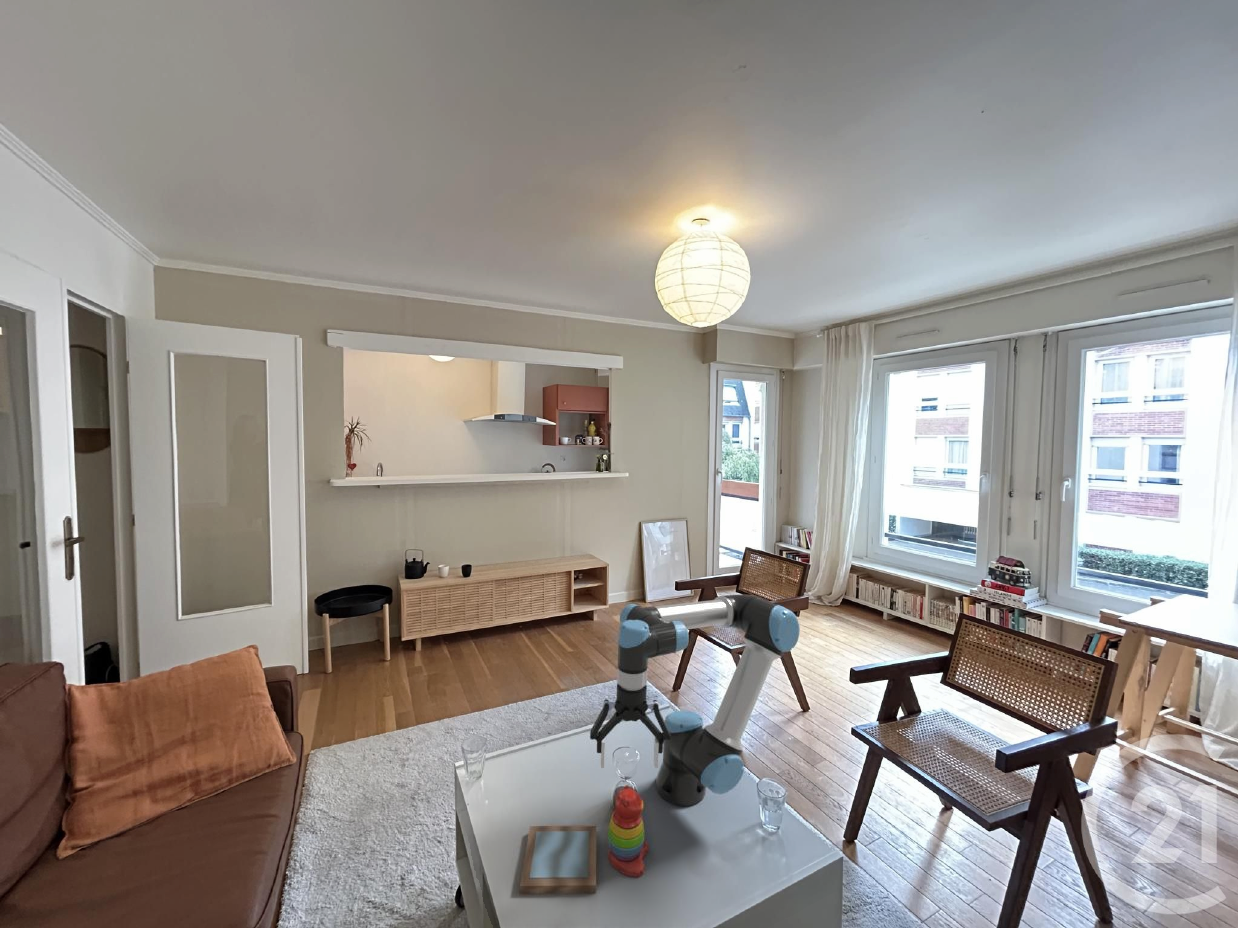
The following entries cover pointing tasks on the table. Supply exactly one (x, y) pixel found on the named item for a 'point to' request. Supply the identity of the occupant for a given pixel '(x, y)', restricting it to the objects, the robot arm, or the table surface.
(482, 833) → the table surface
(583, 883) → the base board
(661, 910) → the table surface
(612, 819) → the stacking bear
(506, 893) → the table surface
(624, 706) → the robot arm
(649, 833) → the table surface
